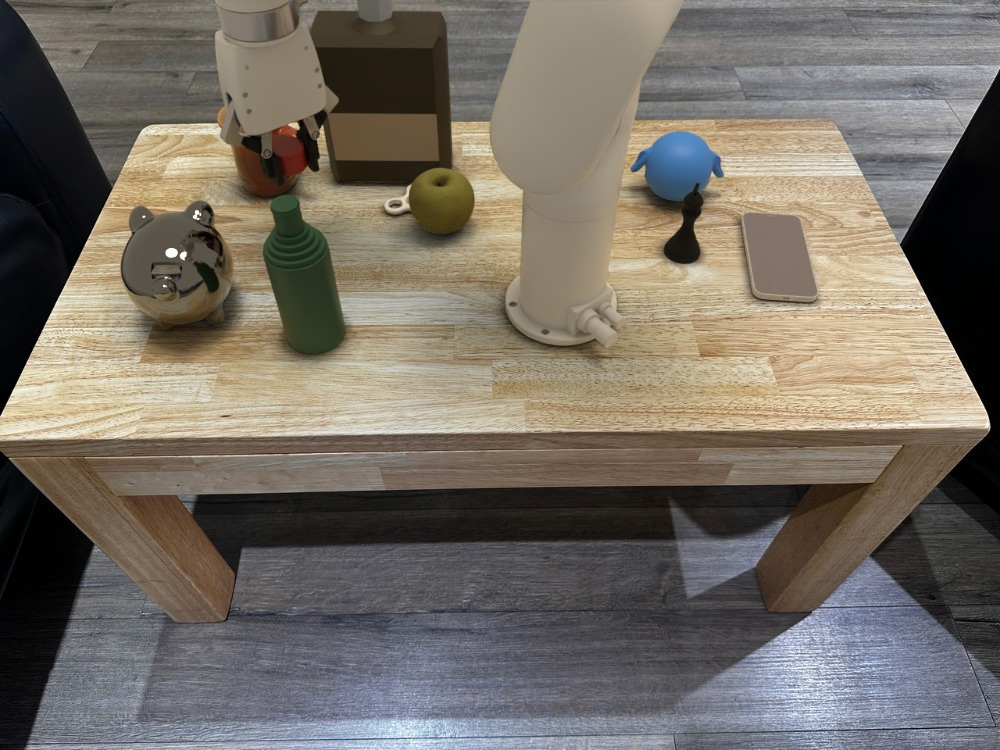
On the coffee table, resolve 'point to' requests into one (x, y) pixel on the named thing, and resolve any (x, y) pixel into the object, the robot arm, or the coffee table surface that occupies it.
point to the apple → (441, 200)
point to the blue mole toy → (678, 165)
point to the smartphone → (778, 257)
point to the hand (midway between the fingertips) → (293, 171)
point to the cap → (290, 155)
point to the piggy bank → (177, 265)
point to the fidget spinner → (400, 201)
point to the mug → (258, 164)
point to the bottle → (385, 91)
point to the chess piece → (686, 231)
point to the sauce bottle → (303, 280)
